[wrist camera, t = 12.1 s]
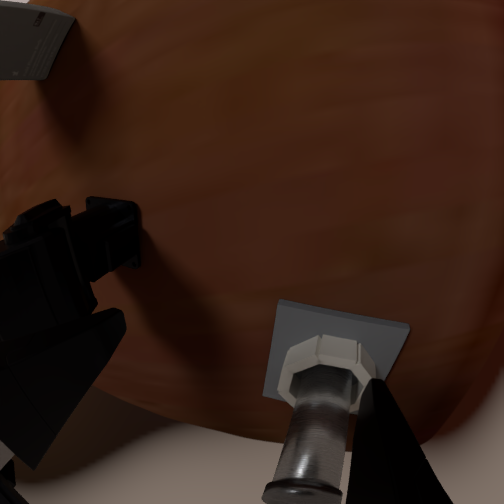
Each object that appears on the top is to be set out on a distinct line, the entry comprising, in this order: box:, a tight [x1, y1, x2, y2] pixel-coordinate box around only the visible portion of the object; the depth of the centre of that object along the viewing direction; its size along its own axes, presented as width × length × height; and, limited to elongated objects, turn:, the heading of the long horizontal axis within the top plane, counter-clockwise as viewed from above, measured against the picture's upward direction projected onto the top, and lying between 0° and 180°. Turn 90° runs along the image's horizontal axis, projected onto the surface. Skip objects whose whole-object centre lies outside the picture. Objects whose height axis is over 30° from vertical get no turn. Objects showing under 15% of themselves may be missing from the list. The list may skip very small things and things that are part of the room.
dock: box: [263, 299, 410, 415], centre depth 23 cm, size 11×12×3 cm
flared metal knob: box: [262, 364, 352, 504], centre depth 18 cm, size 5×5×13 cm
